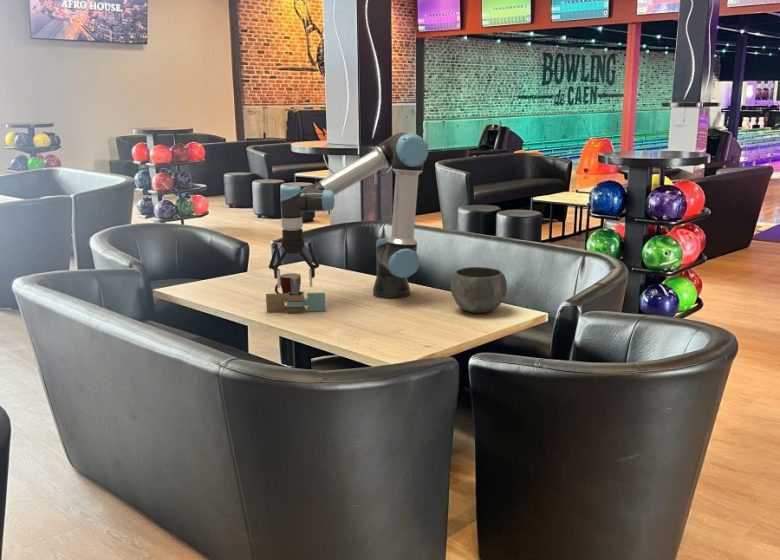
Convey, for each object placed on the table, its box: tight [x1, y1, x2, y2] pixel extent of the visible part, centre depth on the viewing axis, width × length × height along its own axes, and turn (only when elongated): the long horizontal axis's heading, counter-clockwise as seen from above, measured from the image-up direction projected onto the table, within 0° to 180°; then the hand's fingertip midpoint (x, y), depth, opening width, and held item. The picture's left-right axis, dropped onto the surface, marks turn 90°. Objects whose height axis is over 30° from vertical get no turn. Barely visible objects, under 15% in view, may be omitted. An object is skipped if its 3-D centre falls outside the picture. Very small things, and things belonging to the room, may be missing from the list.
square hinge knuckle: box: [265, 291, 306, 315], centre depth 290 cm, size 14×6×7 cm, turn 90°
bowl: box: [450, 266, 508, 314], centre depth 286 cm, size 20×20×15 cm
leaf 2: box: [286, 292, 327, 312], centre depth 290 cm, size 14×6×7 cm, turn 90°
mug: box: [274, 272, 302, 294], centre depth 307 cm, size 11×8×10 cm
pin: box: [290, 273, 301, 308], centre depth 290 cm, size 3×3×14 cm
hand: (295, 286), depth 289 cm, fingers open, 11 cm apart
